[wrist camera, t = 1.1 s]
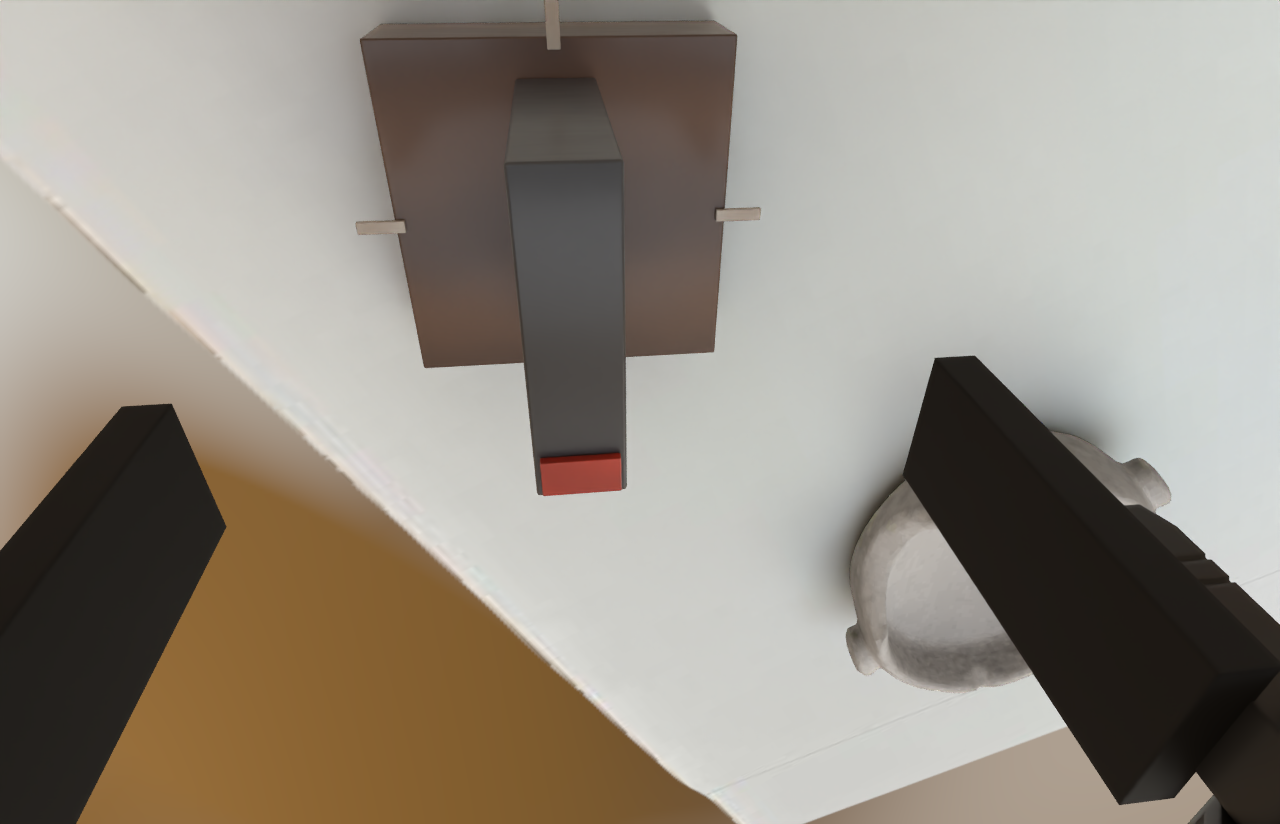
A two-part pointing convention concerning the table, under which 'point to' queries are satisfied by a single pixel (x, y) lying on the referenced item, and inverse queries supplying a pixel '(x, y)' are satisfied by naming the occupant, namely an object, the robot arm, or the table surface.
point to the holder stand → (475, 182)
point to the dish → (950, 589)
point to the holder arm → (569, 281)
